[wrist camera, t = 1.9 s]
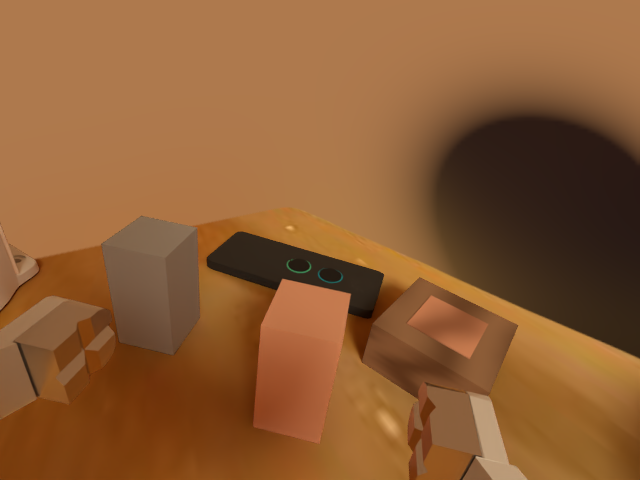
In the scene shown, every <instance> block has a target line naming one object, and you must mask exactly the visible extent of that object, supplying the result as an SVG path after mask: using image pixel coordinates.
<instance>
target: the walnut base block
mask: <svg viewBox="0 0 640 480" xmlns="http://www.w3.org/2000/svg"><path fill="white" fill-rule="evenodd" d="M517 327H518V325H517V324H515V323H513V322H510V321H508V320H506V319H504V318H502V317H500V316H498V315H496V314H494V313H492V312H490V311H488V310H486V309H484V308H482V307H480V306H478V305H476V304H473V303H471V302H469V301H467V300H465V299H463V298H461V297H459V296H457V295H455V294H453V293H451V292H449V291H447V290H445V289H443V288H441V287H439V286H436V285H434V284H432V283H430V282H428V281H426V280H424V279H422V278H420V277H419V278H418V279H417V280H416V281H415V282H414V283H413V284H412V285H411V286H410V287H409V288H408V289H407V290H406V291H405V292H404V293H403V294H402V295H401V296H400V297H399V298H398V299H397V300H396V301H395V302H394V303H393V304H392V305H391V306H390V307H389V308H388V309H387V310H386V311H385V312H384V313H383V314H382V315H381V316H380V317H379V318H378V319H377V320H376V321H375V322H374V323H373V324H372V327H371V331H370V334H369V338H368V342H367V345H366V349H365V352H364V356H363V359H362V363H364V364H366V365H367V366H369V367H370V368H372V369H373V370H375V371H376V372H378V373H379V374H381V375H382V376H384V377H385V378H387V379H388V380H390V381H391V382H393V383H394V384H396V385H398V386H399V387H401V388H402V389H404V390H405V391H407V392H408V393H410V394H411V395H413V396H414V397H416V398H417V399H419V397H418V391H419V389H420V386H421V384H422V383H423V382H427V383H432V384H436V385H441V386H446V387H450V388H455V389H459V390H464V391H468V392H472V393H477V394H481V395H486V396H488V395H489V393H490V391H491V389H492V386H493V384H494V381H495V379H496V377H497V374H498V372H499V370H500V367H501V365H502V363H503V360H504V358H505V355H506V353H507V351H508V348H509V346H510V344H511V341H512V339H513V337H514V334H515V332H516V329H517Z"/></svg>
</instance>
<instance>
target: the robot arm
mask: <svg viewBox="0 0 640 480" xmlns="http://www.w3.org/2000/svg"><path fill="white" fill-rule="evenodd" d="M38 271H39V267H38V264H37V262H36V260H34V259H33V258H31V257H30V256H28V255H26V254H25V253H23V252H22V251H20V250H18V249H17V248H15V247H13V246H12V245H10V244H8V242H7V239H6V237H5V234H4V232H3V229H2V226H1V224H0V310H1V309H2V308H3V307H4V306H5V305H6V304H7V302H8V301H9V300H10V298H11V297H12V295H13V294H14V292H15V291H16V289H17V288H18V287H19V286H20V285H21V284H23V283H24V282H26V281H27V280H28V279H30V278H31V277H33V276H34V275H35V274H36V273H37V272H38ZM111 322H112V317H111V313H110V310H107V309H105V308H101V307H97V306H94V305H90V304H86V303H82V302H78V301H74V300H69V299H65V298H61V297H58V296H54V295H53V296H49V297H45V298H44V299H43V300H41V301H40V302H39V303H37V304H36V305H34V306H33V307H32V308H30V309H29V310H27V311H26V312H25V313H23V314H22V315H21V316H19V317H18V318H16V319H15V320H14V321H12V322H11V323H9V324H8V325H7V326H5V327H4V328H2V329H1V330H0V420H1V419H3V418H4V417H6V416H8V415H10V414H12V413H13V412H15V411H17V410H19V409H20V408H22V407H24V406H26V405H28V404H29V403H31V402H33V401H35V400H36V399H37V397H38V398H43V399H47V400H52V401H56V402H61V403H65V404H69V405H70V404H71V403H72V401H73V400H74V399H75V398H76V397H77V396H78V395H79V394H80V393H81V392H82V390H83V389H84V388H85V387H86V386H87V385H88V384H89V383H90V374H92V373H94V372H96V371H98V370H100V369H102V368H103V367H104V366H105V365H106V363H107V362H108V361H109V360H110V358H111V356H112V354H113V352H114V350H115V345H116V337H115V333H114V332H113V331H112V329H111V328H110V327H109V326H108V325H109V324H110V323H111ZM418 397H419V401H418V402H417V403H415V404H413V407H412V410H411V413H410V417H409V423H408V445H409V447H410V448H411V450H412V451H413V454H412V456H411V458H410V461H409V480H527V478H526V477H525V476H524V475H523V474H522V472H521V471H520V470H519V469H518V468H517V466H513V465H510V464H509V461H508V458H507V454H506V451H505V447H504V444H503V440H502V437H501V433H500V430H499V426H498V423H497V419H496V415H495V412H494V408H493V405H492V401H491V399H490V398H489V397H488V396H486V395H481V394H477V393H472V392H468V391H464V390H459V389H455V388H450V387H446V386H441V385H436V384H432V383H427V382H423V383H422V384H421V386H420V389H419V391H418Z"/></svg>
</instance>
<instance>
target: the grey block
mask: <svg viewBox="0 0 640 480" xmlns="http://www.w3.org/2000/svg"><path fill="white" fill-rule="evenodd" d="M101 245H102V250H103V256H104V261H105V267H106V272H107V278H108V283H109V289H110V294H111V300H112V306H113V311H114V317H115V322H116V328H117V333H118V339H119V342H120V343H124V344H128V345H132V346H137V347H141V348H145V349H149V350H153V351H157V352H161V353H165V354H169V355H174V354H175V352H176V351H177V350H178V348H179V347H180V345H181V344H182V342H183V341H184V340H185V338H186V337H187V335H188V334H189V332H190V331H191V329H192V328H193V327H194V325H195V324H196V322H197V321H198V319H199V318H200V307H199V274H198V242H197V228H196V227H192V226H187V225H182V224H177V223H173V222H167V221H163V220H158V219H154V218H149V217H144V216H141V217H139V218H138V219H136V220H135V221H134V222H132V223H131V224H129V225H128V226H126V227H125V228H124V229H122V230H121V231H119V232H118V233H116V234H115V235H114V236H112V237H111V238H109V239H108V240H107V241H105V242H103V243H102V244H101Z"/></svg>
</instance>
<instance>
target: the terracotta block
mask: <svg viewBox="0 0 640 480" xmlns="http://www.w3.org/2000/svg"><path fill="white" fill-rule="evenodd" d="M350 296H351V294H349V293H345V292H340V291H336V290H331V289H327V288H322V287H318V286H313V285H308V284H304V283H299V282H295V281H290V280H286V279H282V281H281V283H280V285H279V287H278V290H277V292H276V294H275V296H274V298H273V300H272V302H271V305H270V307H269V309H268V311H267V313H266V315H265V318H264V320H263V322H262V324H261V330H260V343H259V356H258V368H257V381H256V394H255V407H254V420H253V427H255V428H259V429H263V430H267V431H271V432H275V433H279V434H283V435H287V436H291V437H294V438H298V439H302V440H306V441H310V442H314V443H318V444H319V443H320V439H321V434H322V430H323V426H324V422H325V417H326V413H327V409H328V404H329V400H330V396H331V391H332V387H333V383H334V378H335V374H336V370H337V365H338V361H339V357H340V352H341V348H342V344H343V338H344V332H345V326H346V320H347V314H348V308H349V302H350Z"/></svg>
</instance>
